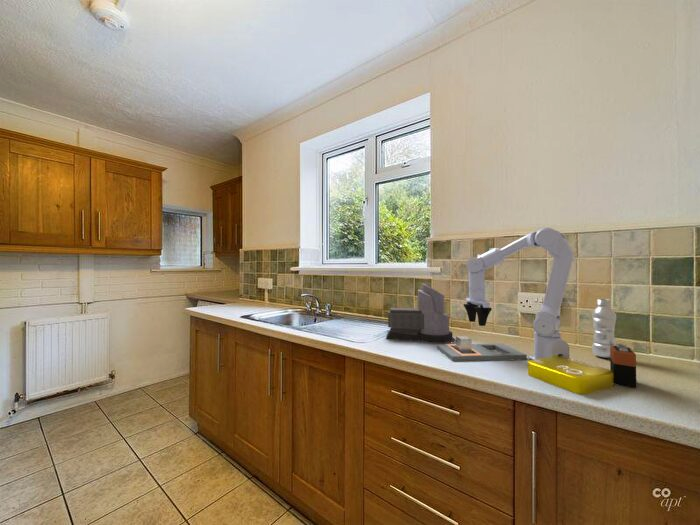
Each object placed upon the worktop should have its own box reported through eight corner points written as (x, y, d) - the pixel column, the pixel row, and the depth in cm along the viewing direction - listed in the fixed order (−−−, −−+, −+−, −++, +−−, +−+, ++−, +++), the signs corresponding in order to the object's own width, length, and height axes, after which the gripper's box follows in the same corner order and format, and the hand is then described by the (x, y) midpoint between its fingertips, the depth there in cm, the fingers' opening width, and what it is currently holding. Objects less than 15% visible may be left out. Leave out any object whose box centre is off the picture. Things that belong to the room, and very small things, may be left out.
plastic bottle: (609, 355, 99) (608, 298, 100) (622, 361, 93) (621, 301, 93) (587, 353, 101) (587, 298, 101) (598, 359, 95) (598, 300, 95)
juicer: (452, 334, 130) (451, 282, 130) (458, 344, 114) (458, 284, 114) (387, 332, 136) (387, 281, 136) (385, 340, 120) (384, 283, 120)
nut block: (471, 355, 100) (471, 338, 100) (460, 355, 99) (460, 339, 99) (466, 352, 104) (466, 336, 104) (456, 352, 103) (455, 336, 103)
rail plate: (526, 359, 95) (526, 354, 96) (452, 360, 94) (452, 355, 94) (502, 347, 109) (502, 342, 109) (437, 348, 108) (437, 344, 108)
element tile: (617, 387, 74) (617, 369, 74) (581, 397, 69) (581, 377, 69) (558, 368, 88) (557, 353, 88) (524, 375, 83) (524, 359, 83)
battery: (631, 380, 78) (631, 344, 78) (637, 389, 72) (636, 350, 72) (610, 376, 80) (609, 341, 80) (613, 384, 75) (613, 347, 75)
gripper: (458, 287, 116) (458, 320, 116) (476, 290, 102) (476, 327, 102) (475, 287, 117) (475, 319, 116) (494, 290, 102) (495, 327, 102)
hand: (477, 323), depth 109 cm, fingers open, 7 cm apart
